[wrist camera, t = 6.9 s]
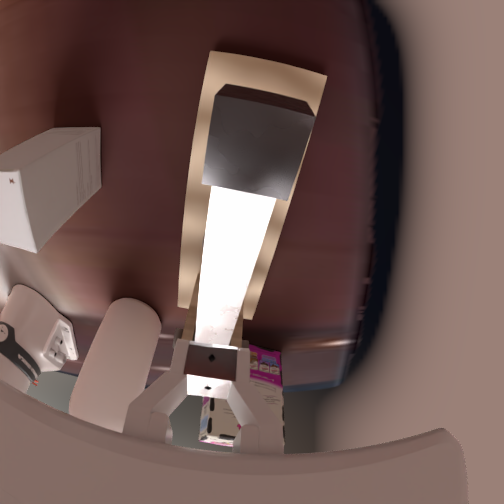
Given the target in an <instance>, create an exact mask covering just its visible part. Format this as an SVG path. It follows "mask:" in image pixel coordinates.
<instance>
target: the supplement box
mask: <svg viewBox="0 0 504 504" xmlns="http://www.w3.org/2000/svg"><path fill="white" fill-rule="evenodd" d="M100 132H101V128H100V127H66V128H52V129H50V130H48V131H45V132H43V133H41V134H39V135H37V136H34V137H32V138H30V139H28V140H26V141H24V142H22V143H20V144H19V145H17V146H15V147H13V148H11V149H9V150H7V151H5V152H4V153H2V154H0V243H2V244H5V245H9V246H12V247H16V248H20V249H23V250H27V251H30V252H33V253H38V252H39V250H40V249H41V248H42V247H43V246H44V244H45V243H46V242H47V241H48V240H49V239H50V238H51V237H52V235H53V234H54V233H55V232H56V231H57V230H58V229H59V228H60V227H61V226H62V225H63V224H64V223H65V222H66V221H67V220H68V219H69V218H70V217H71V216H72V215H73V214H74V213H75V212H76V211H77V210H78V209H79V208H80V207H81V206H82V205H83V204H84V203H85V202H86V201H87V200H88V199H89V198H90V197H91V196H92V195H94V194H95V193H96V192H97V191H98V190H99V189H100V188H101V162H100Z"/></svg>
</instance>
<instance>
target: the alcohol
mask: <svg viewBox="0 0 504 504" xmlns="http://www.w3.org/2000/svg"><path fill="white" fill-rule="evenodd" d="M160 331H161V323H160V320H159V317H158V315H157V313H156V312H155V311H154V310H153V309H152V308H151V307H150V306H149V305H147V304H146V303H144V302H142V301H140V300H137V299H133V298H121V299H118V300H116V301H114V302H113V303H111V305H110V306H109V308H108V310H107V312H106V314H105V316H104V319H103V321H102V323H101V325H100V327H99V329H98V331H97V334H96V336H95V338H94V340H93V343H92V345H91V347H90V349H89V352H88V354H87V356H86V359H85V361H84V364H83V366H82V369H81V371H80V374H79V376H78V379H77V381H76V384H75V387H74V389H73V392H72V395H71V398H70V404H69V413H70V415H72V416H74V417H77V418H79V419H82V420H84V421H87V422H90V423H93V424H95V425H98V426H101V427H104V428H107V429H110V430H114V431H117V432H120V433H122V431H123V427H124V423H125V418H126V414H127V410H128V406H129V404H130V403H131V402H132V401H133V400H134V399H136V398H137V397H138V396H139V395H140V394H141V393H142V392H143V391H144V388H145V384H146V380H147V377H148V373H149V369H150V366H151V362H152V358H153V355H154V351H155V348H156V344H157V341H158V338H159V334H160Z"/></svg>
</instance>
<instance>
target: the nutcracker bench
mask: <svg viewBox="0 0 504 504" xmlns="http://www.w3.org/2000/svg"><path fill="white" fill-rule="evenodd" d="M326 79H327V76H325V75H322V74H319V73H315V72H312V71H309V70H305V69H302V68H298V67H294V66H291V65H287V64H283V63H278V62H274V61H270V60H265V59H260V58H255V57H250V56H244V55H238V54H232V53H224V52H217V51H210V54H209V59H208V63H207V68H206V73H205V77H204V82H203V87H202V92H201V98H200V103H199V109H198V114H197V120H196V126H195V132H194V139H193V145H192V152H191V159H190V166H189V174H188V182H187V190H186V199H185V209H184V219H183V230H182V242H181V255H180V271H179V290H178V307H183V308H188V313H187V318H186V322H185V326H184V329H179V328H176V331H175V335H174V340H173V348H175V345H176V341H177V339H178V338H179V339H184V340H190V341H194V335H195V331H196V321H197V309H198V298H199V288H200V278H201V268H202V259H203V250H204V242H205V234H206V226H207V218H208V210H209V203H210V196H211V189H212V186H210V185H205V184H202V177H203V169H204V161H205V154H206V147H207V140H208V134H209V127H210V121H211V115H212V109H213V103H214V97H215V94H216V93H217V92H218V91H219V90H220V89H221V88H222V87H223V86H224V85H225V84H232V85H238V86H244V87H249V88H254V89H259V90H264V91H268V92H272V93H277V94H281V95H285V96H289V97H293V98H296V99H300V100H304V101H307V103H308V104H309V106H310V108H311V109H312V111H313V113H314V115H315V116H316V115H317V111H318V108H319V104H320V101H321V97H322V93H323V90H324V86H325V83H326ZM311 132H312V131H311ZM310 135H311V134H310ZM309 139H310V137H309ZM308 142H309V140H308ZM307 145H308V143H307ZM306 149H307V146H306ZM306 149H305V152H306ZM305 152H304V155H305ZM304 155H303V158H302V161H301V164H300V166H299V169H298V172H297V175H296V178H295V181H294V184H293V187H292V190H291V192H290V195H289V198H288V201H285V200H280V199H276V201H275V204H274V207H273V210H272V213H271V217H270V220H269V223H268V226H267V229H266V232H265V235H264V238H263V241H262V245H261V248H260V251H259V254H258V257H257V260H256V263H255V266H254V269H253V272H252V275H251V278H250V282H249V285H248V288H247V291H246V294H245V297H244V300H243V303H242V306H241V309H240V312H239V315H238V318H237V321H236V324H235V327H234V330H233V333H232V336H231V340H230V344H229V346H233V347H239V348H249V341H247V340H242V329H243V318H244V319H250V320H252V318H253V315H254V312H255V309H256V306H257V303H258V300H259V297H260V294H261V291H262V288H263V285H264V282H265V279H266V276H267V273H268V270H269V267H270V264H271V261H272V258H273V255H274V252H275V249H276V246H277V242H278V239H279V236H280V233H281V230H282V227H283V224H284V220H285V217H286V214H287V211H288V208H289V204H290V201H291V198H292V195H293V192H294V188H295V185H296V182H297V179H298V175H299V172H300V169H301V165H302V162H303V159H304Z"/></svg>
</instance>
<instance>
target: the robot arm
mask: <svg viewBox="0 0 504 504" xmlns="http://www.w3.org/2000/svg"><path fill="white" fill-rule="evenodd" d="M78 357H79V355H78V351H77V346H76V342H75V337H74V332H73V326H72V323H71V322H70V321H69V320H68V319H66V318H65V317H64V316H62V315H61V314H60V313H58V312H57V311H56V309H55V308H54V307H53V306H52V305H51V304H50V303H49V302H48V301H47V300H46V299H45V298H44V297H42V296H41V295H40V294H38V293H37V292H36V291H34V290H33V289H31V288H29V287H27V286H24V285H15V286H14V287H13V288H12V291H11V294H10V295H9V296H8V298H7V303H6V305H5V307H4V308H3V310H2V312H1V314H0V504H468V482H467V472H466V465H465V459H464V453H463V449H462V446H461V444H460V442H459V441H458V440H457V439H456V438H455V437H454V436H453V435H452V434H451V433H450V432H449V431H447V430H446V429H444V428H438V429H435V430H431V431H428V432H425V433H422V434H418V435H415V436H411V437H407V438H403V439H399V440H395V441H391V442H386V443H382V444H377V445H371V446H366V447H360V448H354V449H347V450H339V451H330V452H320V453H306V454H284V445H283V425H282V424H281V422H280V421H279V420H278V418H277V417H276V416H275V414H274V413H273V411H272V410H271V409H270V407H269V406H268V404H267V403H266V401H265V400H264V399H263V397H262V396H261V394H260V393H259V391H258V390H257V388H256V387H255V385H254V384H253V383H250V350H249V348H239V347H233V346H224V345H216V344H207V343H201V342H195V341H190V340H184V339H179V338H178V339H177V341H176V345H175V349H174V353H173V358H172V362H171V367H170V372H167V371H166V372H165V373H164V374H163V375H161V376H160V377H159V378H158V379H157V380H156V381H155V382H154V383H152V384H151V385H150V386H149V387H148V388H147V389H146V390H145V391H143V392H142V393H141V394H140V395H139V396H138V397H137V398H136V399H134V400H133V401H132V402H131V403H130V404H129V406H128V410H127V414H126V418H125V423H124V427H123V431H122V433H120V432H117V431H114V430H110V429H107V428H104V427H101V426H98V425H95V424H93V423H90V422H87V421H84V420H82V419H79V418H77V417H74V416H72V415H69V414H67V413H64V412H62V411H60V410H58V409H55V408H53V407H51V406H49V405H47V404H45V403H43V402H41V401H38V400H37V399H35V398H33V397H31V396H29V395H27V394H26V392H27V389H28V387H29V384H31V383H32V384H34V385H36V386H37V384H35V383H34V382H33V381H35V382H38V381H37V380H35V379H36V378H37V377H38V376H39V375H40V374H41V372H45V371H56V370H60V369H61V368H62V366H63V365H64V364H65V362H66V359H71V360H77V359H78ZM187 394H191V395H198V396H206V397H213V398H219V399H227V402H228V404H229V406H230V408H231V409H232V411H233V413H234V415H235V417H236V418H237V420H238V422H239V424H240V425H241V428H240V430H239V432H238V434H237V435H236V437H235V439H234V441H233V453H228V452H217V451H208V450H200V449H193V448H187V447H180V446H175V445H171V443H172V435H173V432H172V429H171V425H170V421H169V417H168V416H169V415H170V414H171V413H172V412H173V411H174V410H175V408H176V407H177V406H178V405H179V404H180V403H181V401H183V400H184V398H185V397H186V396H187Z"/></svg>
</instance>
